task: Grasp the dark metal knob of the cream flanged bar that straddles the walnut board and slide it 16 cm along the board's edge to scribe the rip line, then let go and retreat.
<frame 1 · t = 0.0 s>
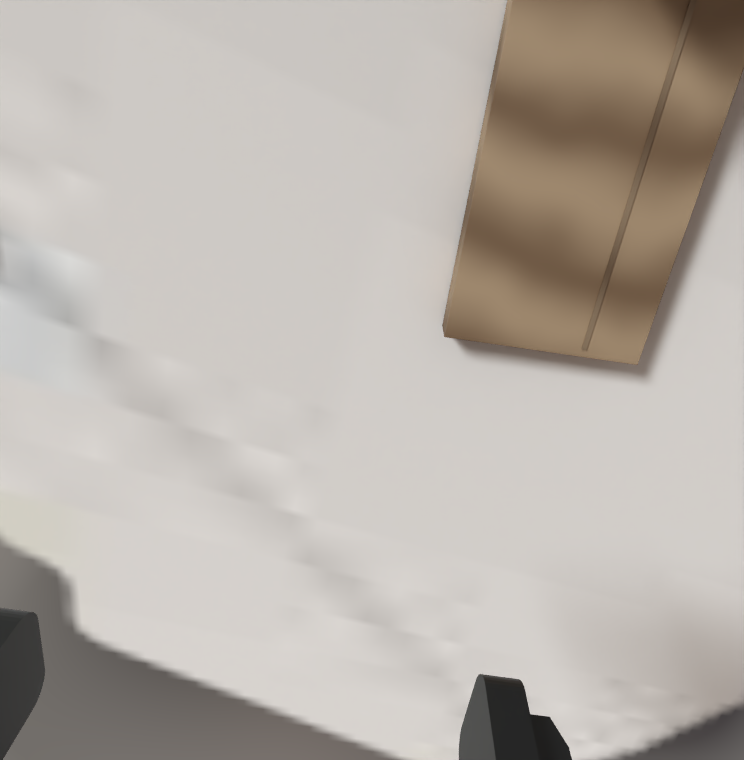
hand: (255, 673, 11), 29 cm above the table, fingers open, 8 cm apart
board: (594, 121, 33), on the table
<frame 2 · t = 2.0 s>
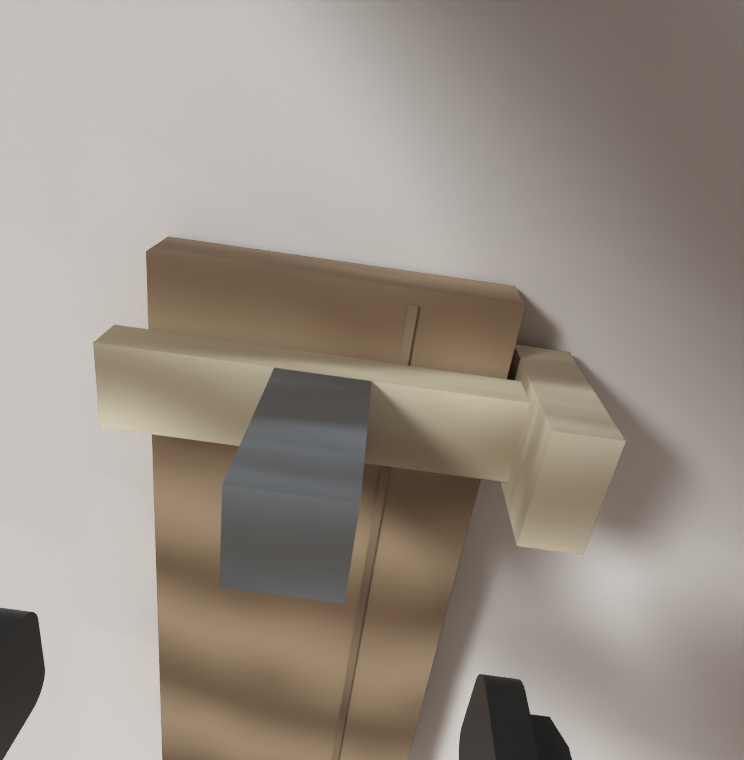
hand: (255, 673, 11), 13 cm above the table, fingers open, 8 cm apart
cream flanged bar: (336, 440, 18), point 5 cm above the table, slide at 0.0 cm
board: (309, 550, 26), on the table
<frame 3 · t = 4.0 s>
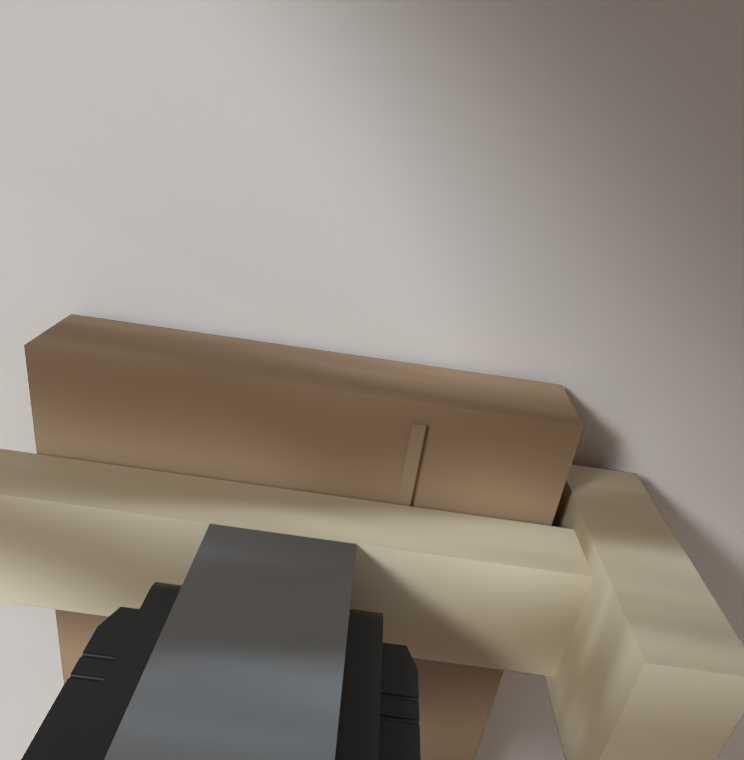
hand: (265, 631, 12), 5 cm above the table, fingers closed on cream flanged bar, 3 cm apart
cream flanged bar: (301, 640, 12), point 5 cm above the table, slide at 0.0 cm, touching gripper
board: (279, 706, 20), on the table
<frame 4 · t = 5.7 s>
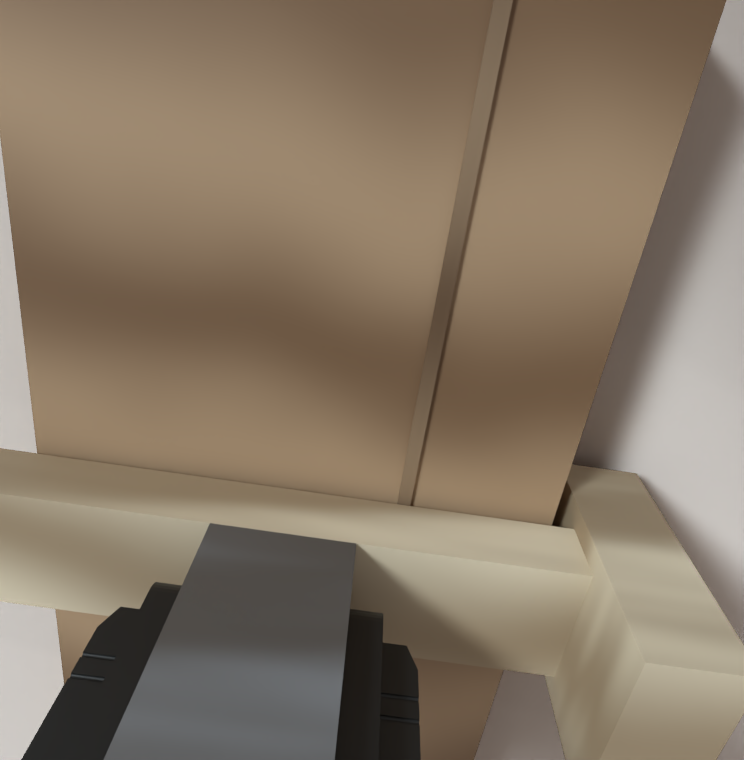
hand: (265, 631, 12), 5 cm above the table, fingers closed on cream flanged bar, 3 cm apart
cream flanged bar: (301, 640, 12), point 5 cm above the table, slide at 8.1 cm, touching gripper
board: (301, 512, 17), on the table
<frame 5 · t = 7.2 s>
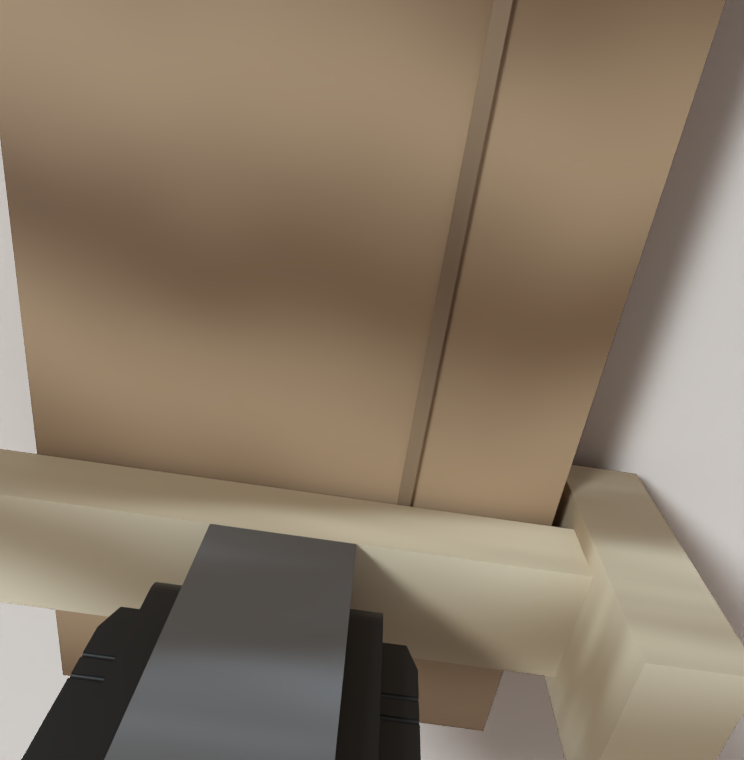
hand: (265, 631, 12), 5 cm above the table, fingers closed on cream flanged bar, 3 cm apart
cream flanged bar: (301, 641, 12), point 5 cm above the table, slide at 15.9 cm, touching gripper
board: (331, 230, 13), on the table
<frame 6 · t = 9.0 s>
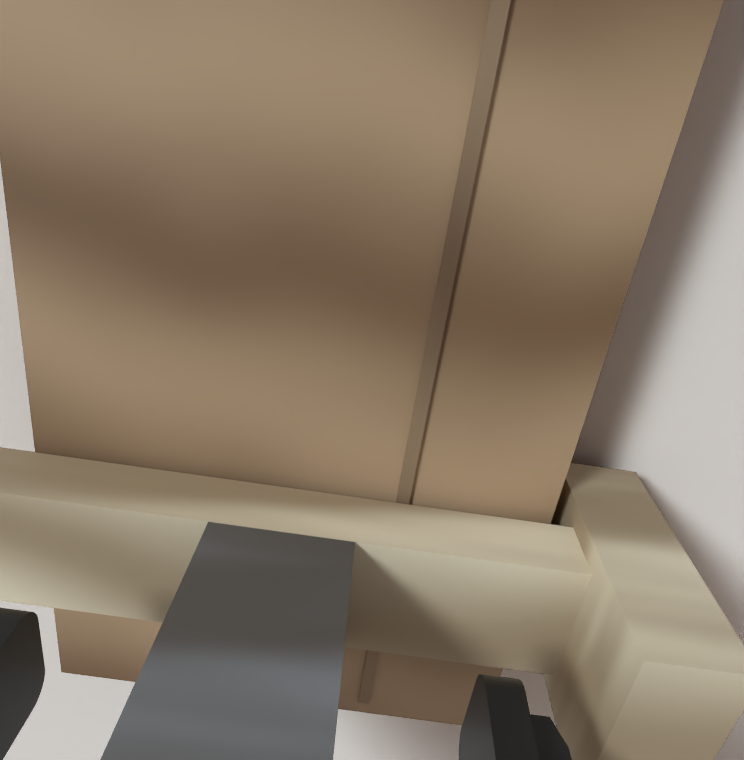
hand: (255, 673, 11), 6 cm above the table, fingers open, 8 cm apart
cream flanged bar: (300, 639, 12), point 5 cm above the table, slide at 16.0 cm
board: (330, 225, 13), on the table
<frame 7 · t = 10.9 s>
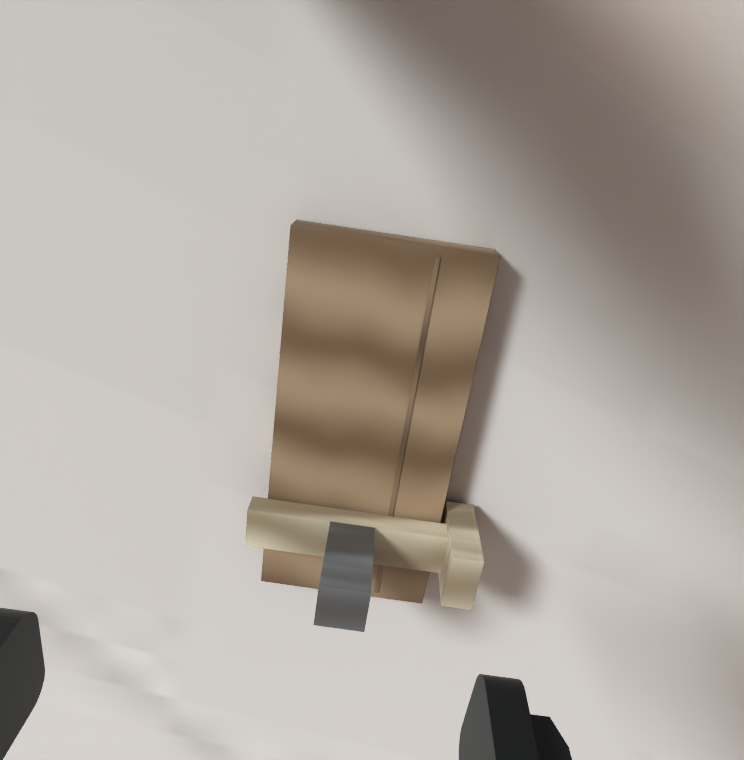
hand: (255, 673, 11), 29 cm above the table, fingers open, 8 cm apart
cream flanged bar: (359, 556, 39), point 5 cm above the table, slide at 16.0 cm
board: (366, 425, 41), on the table
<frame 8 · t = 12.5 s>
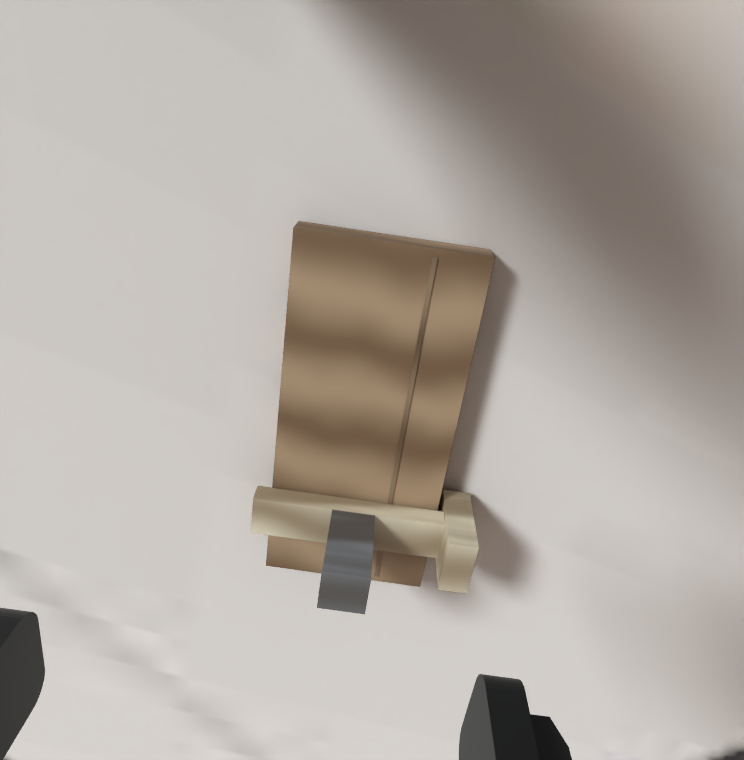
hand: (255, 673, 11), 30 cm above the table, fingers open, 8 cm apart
cream flanged bar: (359, 542, 41), point 5 cm above the table, slide at 16.0 cm
board: (366, 417, 43), on the table
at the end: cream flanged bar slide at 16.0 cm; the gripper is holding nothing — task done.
